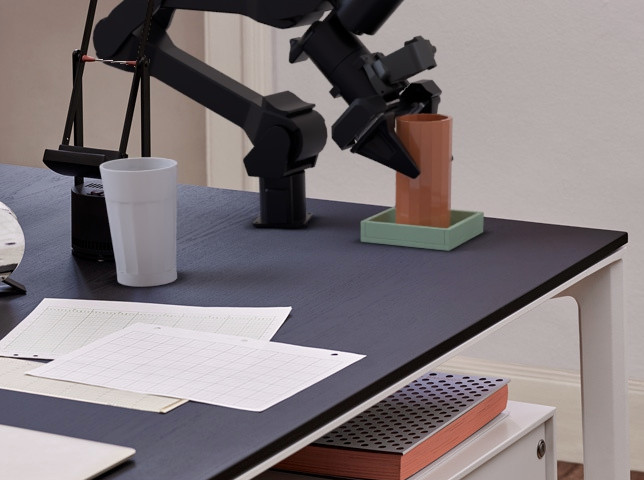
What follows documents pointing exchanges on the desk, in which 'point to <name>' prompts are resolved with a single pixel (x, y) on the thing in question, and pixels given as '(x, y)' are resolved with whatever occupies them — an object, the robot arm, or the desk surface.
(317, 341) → the desk surface
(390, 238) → the tray
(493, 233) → the desk surface
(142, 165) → the cup
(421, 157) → the tumbler
